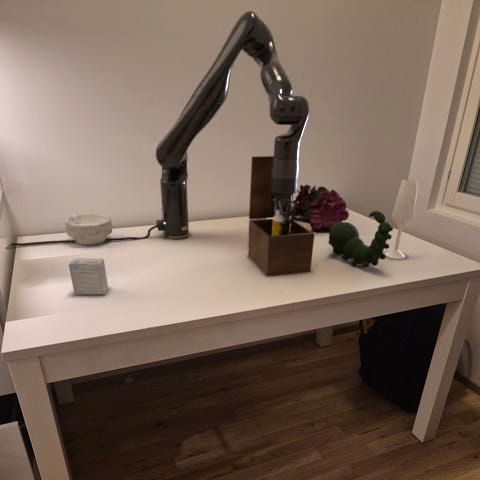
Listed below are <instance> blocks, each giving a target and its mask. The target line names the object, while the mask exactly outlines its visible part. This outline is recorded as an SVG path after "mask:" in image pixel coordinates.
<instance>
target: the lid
mask: <svg viewBox="0 0 480 480" xmlns="http://www.w3.org/2000/svg"><path fill="white" fill-rule="evenodd" d="M273 158H274V157H273V155H261V156H260V155H259V156H251V165H250V187H249V206H248V207H249V209H248V210H249V211H248V219H249V220H250V219H259V218H266V219H273V214H271V194H275V193H273V192H272V191H271V176H272V164H273ZM291 196H292V201H294V200H293V198H294V194H292V195H291Z"/></svg>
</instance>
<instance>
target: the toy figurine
mask: <svg viewBox="0 0 480 480" xmlns="http://www.w3.org/2000/svg"><path fill="white" fill-rule="evenodd" d="M368 218H374V220H375V221H376V222H377V223H378V226H377V230H376V232H375V233H374V238H373V239H372V240H371V242H370V245H369V246H368V245H367V244H365V242H364V241H363V239H362V238H360V232H359V230H358V228H357V227H356V226H355V225H354V224H353V223H350V222H347V221H342V222H341V223H339V224H337V225H336V224H333V223H330V227H331V231H330V232H329V235H328V242H327V243H328V245H330V246H331V247H332V253H333V254H334V255H337V256H340V255H341V256H340V257H341V258H340V259H342V260H343V261H348V260H349V259H352V260H351V262H350V264H351V266H353V267H355V266H358V264H359V265H361V266H362V267H363V268H368V267H369V266H370V264H371V265H372V266H377V265H378V264H379V260H383V261H384V260H385V259H386V258H387V256H386V255H385V253H384V250H388V249H389V248H390V244H389V243H387V241H388V240H391V239H392V235H391V234H390V232H392V231H393V230H394V227H393V226H392V225H391V224H390V223H389V222H388V221H386V216H385V215H384V213H383V212H381V211H379V210H373V211H371V212H370V213H369V215H368Z"/></svg>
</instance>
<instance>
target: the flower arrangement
mask: <svg viewBox="0 0 480 480" xmlns="http://www.w3.org/2000/svg"><path fill="white" fill-rule="evenodd" d="M296 193H298V194H297V195H296V197H295V199H294V200H292V203H296V212H295V218H294V220H295V221H296V222H305V223H309V225H310V229H311V231H312V232H313V233H319V232H323V233H324V232H328V233H330V231H331V227H330V223H333V224H336V225H337V224H339V223H342V222H345V221H347V220H348V219H349V216H350V211H349V210H348V209H347V203H346V201H345V200H344V198H343V197H342V196H341V195H340V193H339V192H337V191H336V190H335V189H331V190H329V189H327V187H325V186H318V187H316V185H313V187H311V185H309V184H305V185H304V184H300V185H299V190H298V189H297V192H296ZM300 216H302V217H300Z"/></svg>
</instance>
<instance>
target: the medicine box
mask: <svg viewBox="0 0 480 480" xmlns="http://www.w3.org/2000/svg"><path fill="white" fill-rule="evenodd" d="M68 268H69V274H70V280H71V284H72V289H73V294H74V295H77V296H78V295H80V296H81V295H82V296H83V295H105V294H106V293H107V291H108V289H109V282H108V277H107V270H106V264H105V259H104V258H103V257H101V258H97V257H96V258H95V257H94V258H93V257H90V258H89V257H88V258H87V257H83V258H80V257H79V258H75V257H74V258H73V259H72V260H71V261H70V262H69V263H68Z"/></svg>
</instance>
